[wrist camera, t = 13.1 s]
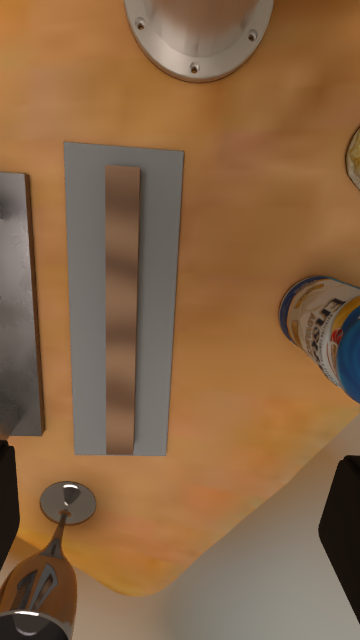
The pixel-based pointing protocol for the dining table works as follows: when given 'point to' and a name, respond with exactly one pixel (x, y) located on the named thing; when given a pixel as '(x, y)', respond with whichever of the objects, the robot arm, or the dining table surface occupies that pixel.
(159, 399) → the grey mat
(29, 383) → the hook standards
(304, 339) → the beverage bottle
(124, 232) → the walnut rail
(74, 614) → the wine glass
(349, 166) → the bread roll
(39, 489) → the dining table surface
